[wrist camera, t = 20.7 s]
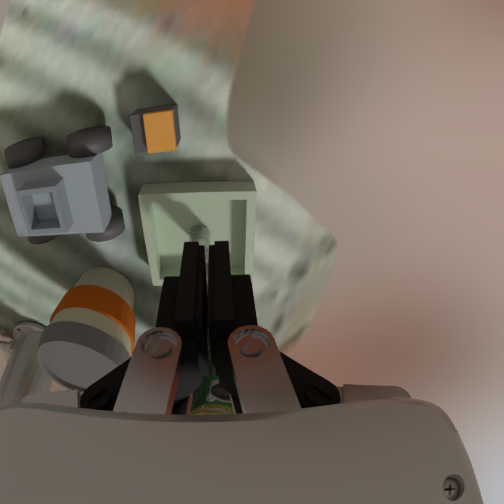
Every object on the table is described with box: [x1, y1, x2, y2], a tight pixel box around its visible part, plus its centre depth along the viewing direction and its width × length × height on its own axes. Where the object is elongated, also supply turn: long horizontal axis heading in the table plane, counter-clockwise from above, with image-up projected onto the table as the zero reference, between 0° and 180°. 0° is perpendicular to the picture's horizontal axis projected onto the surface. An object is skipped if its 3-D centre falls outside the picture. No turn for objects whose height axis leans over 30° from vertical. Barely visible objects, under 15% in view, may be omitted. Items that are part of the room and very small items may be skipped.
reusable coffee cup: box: [37, 267, 135, 392], centre depth 38 cm, size 13×13×15 cm
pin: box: [189, 224, 210, 291], centre depth 36 cm, size 4×4×9 cm
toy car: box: [0, 126, 125, 244], centre depth 30 cm, size 14×12×8 cm
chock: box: [130, 104, 181, 153], centre depth 30 cm, size 4×4×4 cm
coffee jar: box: [190, 336, 234, 415], centre depth 46 cm, size 10×8×19 cm
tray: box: [138, 181, 257, 286], centre depth 39 cm, size 13×13×3 cm
